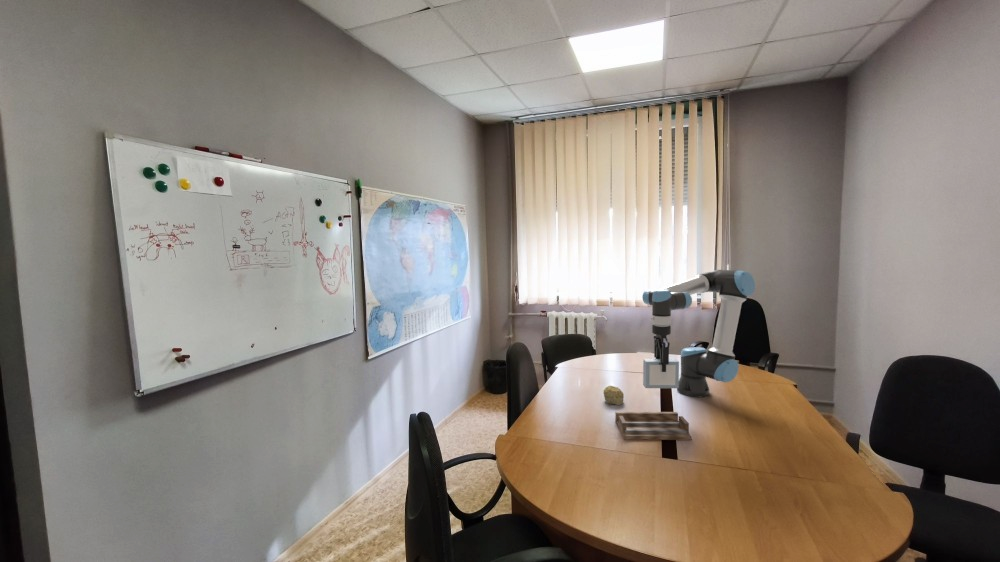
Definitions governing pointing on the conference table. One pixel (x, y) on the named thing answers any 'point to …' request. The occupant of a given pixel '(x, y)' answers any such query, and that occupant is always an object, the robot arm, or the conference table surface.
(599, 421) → the conference table surface
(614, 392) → the decorative item
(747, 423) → the conference table surface
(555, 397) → the conference table surface
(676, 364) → the door panel
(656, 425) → the base
